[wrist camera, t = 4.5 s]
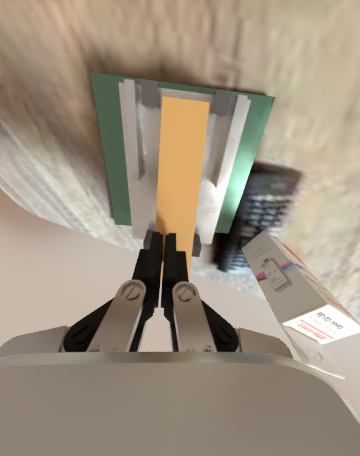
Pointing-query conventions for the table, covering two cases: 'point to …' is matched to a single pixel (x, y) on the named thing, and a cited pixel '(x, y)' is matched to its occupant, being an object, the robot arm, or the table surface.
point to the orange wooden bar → (180, 170)
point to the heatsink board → (118, 149)
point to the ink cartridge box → (299, 301)
